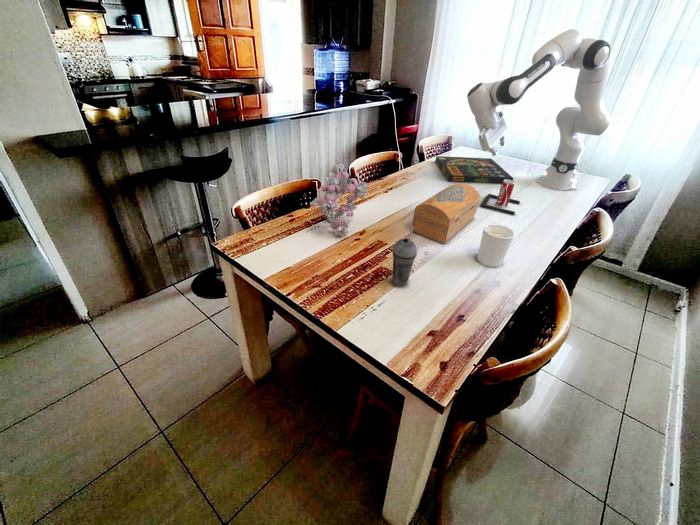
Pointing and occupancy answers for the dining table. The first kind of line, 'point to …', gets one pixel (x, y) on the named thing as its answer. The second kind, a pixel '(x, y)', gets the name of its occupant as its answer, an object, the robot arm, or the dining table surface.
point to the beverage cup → (403, 260)
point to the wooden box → (446, 212)
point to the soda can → (505, 193)
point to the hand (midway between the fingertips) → (499, 150)
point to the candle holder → (494, 244)
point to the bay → (497, 207)
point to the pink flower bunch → (334, 192)
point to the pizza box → (472, 170)
